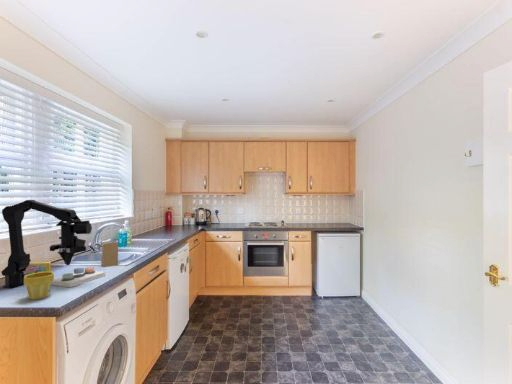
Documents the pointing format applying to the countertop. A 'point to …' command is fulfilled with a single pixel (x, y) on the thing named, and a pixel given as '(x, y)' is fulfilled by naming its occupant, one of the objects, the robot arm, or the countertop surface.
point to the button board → (78, 279)
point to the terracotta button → (89, 269)
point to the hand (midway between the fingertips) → (67, 265)
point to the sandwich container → (110, 254)
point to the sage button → (67, 276)
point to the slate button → (78, 270)
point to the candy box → (38, 267)
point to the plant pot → (38, 284)
